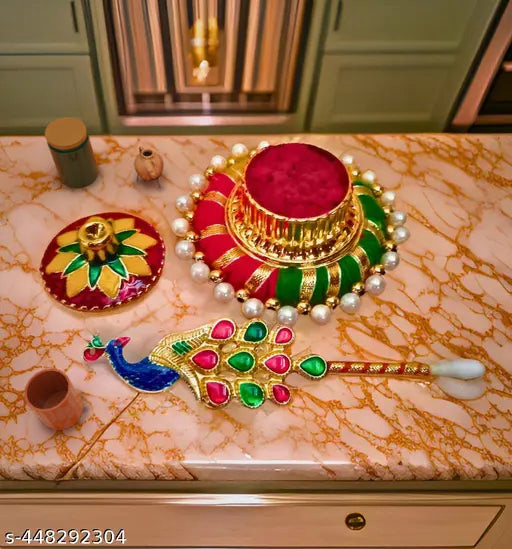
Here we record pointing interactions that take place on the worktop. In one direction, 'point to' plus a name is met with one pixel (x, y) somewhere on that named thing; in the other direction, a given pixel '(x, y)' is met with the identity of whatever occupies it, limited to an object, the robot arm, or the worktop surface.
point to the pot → (148, 165)
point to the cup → (54, 399)
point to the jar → (72, 152)
